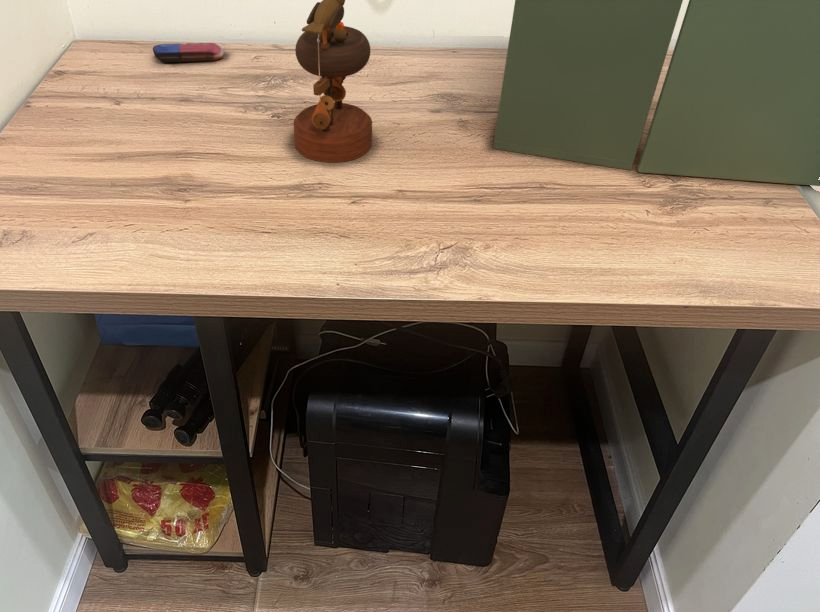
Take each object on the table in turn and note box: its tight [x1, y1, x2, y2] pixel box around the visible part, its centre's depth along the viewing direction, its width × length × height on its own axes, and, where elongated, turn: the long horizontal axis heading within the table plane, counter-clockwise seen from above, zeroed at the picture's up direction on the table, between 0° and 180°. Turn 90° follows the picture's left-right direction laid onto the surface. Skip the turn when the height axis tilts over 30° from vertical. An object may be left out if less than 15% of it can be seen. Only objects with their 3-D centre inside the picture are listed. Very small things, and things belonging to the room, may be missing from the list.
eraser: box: [152, 42, 225, 63], centre depth 117 cm, size 11×4×2 cm, turn 99°
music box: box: [293, 0, 373, 163], centre depth 91 cm, size 15×11×20 cm
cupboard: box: [492, 0, 684, 171], centre depth 95 cm, size 18×26×24 cm
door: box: [636, 0, 820, 187], centre depth 80 cm, size 7×26×24 cm, turn 82°
